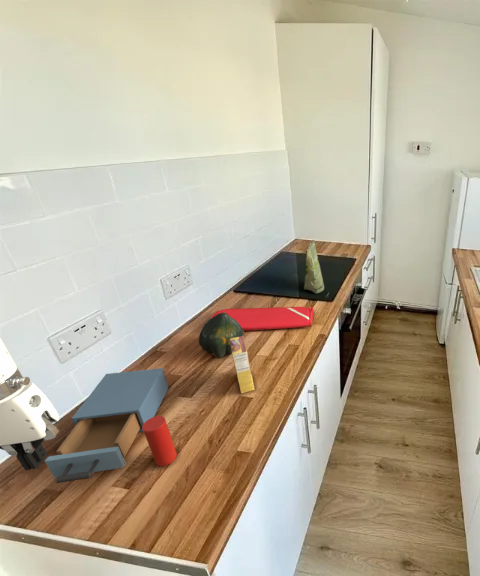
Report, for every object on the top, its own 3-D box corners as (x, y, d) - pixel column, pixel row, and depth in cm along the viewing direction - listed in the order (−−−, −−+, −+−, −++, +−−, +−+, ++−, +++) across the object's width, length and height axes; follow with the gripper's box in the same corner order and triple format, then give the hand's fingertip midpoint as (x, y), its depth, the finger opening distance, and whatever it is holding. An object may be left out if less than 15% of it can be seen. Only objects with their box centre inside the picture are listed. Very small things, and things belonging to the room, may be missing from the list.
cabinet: (146, 430, 86) (138, 410, 83) (82, 439, 83) (71, 418, 80) (168, 387, 101) (162, 368, 98) (114, 393, 97) (106, 373, 94)
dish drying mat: (218, 313, 141) (216, 306, 140) (313, 311, 147) (313, 304, 145) (205, 333, 127) (203, 325, 126) (311, 330, 133) (311, 322, 131)
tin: (152, 468, 77) (138, 432, 72) (159, 451, 81) (146, 417, 76) (173, 464, 78) (161, 429, 73) (179, 448, 82) (167, 414, 77)
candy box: (236, 376, 107) (229, 338, 100) (250, 373, 108) (244, 334, 102) (239, 394, 100) (232, 354, 93) (254, 390, 101) (248, 350, 95)
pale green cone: (310, 296, 160) (307, 248, 149) (298, 288, 167) (294, 241, 156) (329, 290, 167) (328, 244, 156) (316, 282, 174) (314, 237, 163)
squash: (193, 356, 106) (220, 319, 107) (188, 335, 117) (213, 301, 118) (232, 369, 115) (257, 334, 116) (224, 348, 127) (247, 317, 127)
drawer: (114, 484, 72) (106, 467, 70) (42, 497, 69) (30, 479, 67) (149, 416, 90) (144, 400, 87) (93, 423, 87) (85, 407, 84)
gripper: (59, 367, 57) (95, 439, 65) (-48, 377, 54) (4, 452, 62) (28, 397, 51) (72, 473, 59) (-96, 412, 48) (-31, 490, 56)
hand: (37, 462), depth 60 cm, fingers closed
